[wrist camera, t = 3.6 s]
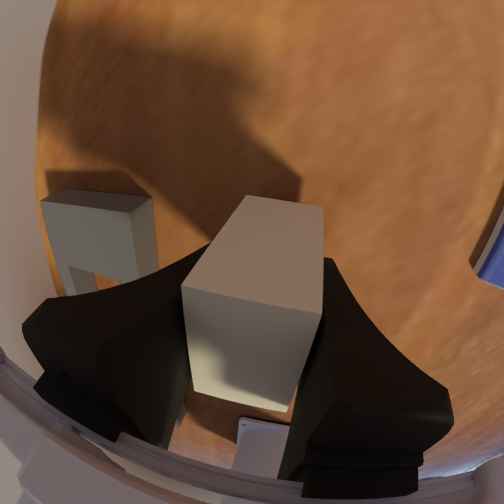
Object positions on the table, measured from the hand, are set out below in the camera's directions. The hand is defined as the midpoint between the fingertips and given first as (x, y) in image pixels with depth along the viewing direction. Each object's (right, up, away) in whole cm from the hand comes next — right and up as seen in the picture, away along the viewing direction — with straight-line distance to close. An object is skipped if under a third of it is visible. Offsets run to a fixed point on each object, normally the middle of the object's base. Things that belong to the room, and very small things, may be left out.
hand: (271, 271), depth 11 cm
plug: (0, +1, +1) cm, 2 cm away
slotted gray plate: (-10, -5, +9) cm, 14 cm away
